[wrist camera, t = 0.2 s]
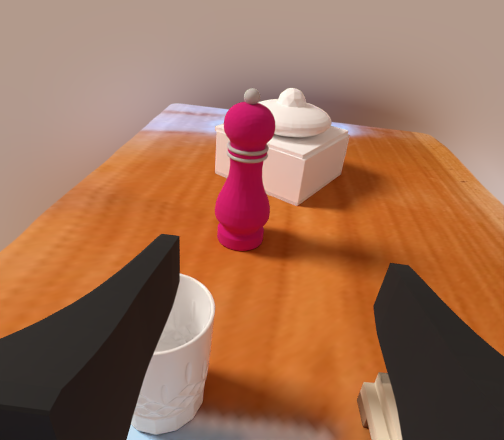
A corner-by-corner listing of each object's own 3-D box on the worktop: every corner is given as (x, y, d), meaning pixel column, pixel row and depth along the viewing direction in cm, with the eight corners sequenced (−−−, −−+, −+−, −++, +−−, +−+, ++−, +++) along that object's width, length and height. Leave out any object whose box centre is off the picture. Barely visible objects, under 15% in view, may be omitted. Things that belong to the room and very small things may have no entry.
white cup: (104, 374, 32) (88, 287, 27) (191, 344, 36) (191, 261, 31) (125, 462, 27) (109, 373, 21) (226, 416, 30) (233, 330, 25)
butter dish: (297, 207, 61) (313, 109, 53) (212, 173, 69) (215, 84, 61) (341, 175, 74) (360, 92, 65) (265, 149, 82) (273, 72, 74)
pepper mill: (254, 221, 56) (268, 81, 45) (274, 248, 50) (296, 96, 40) (207, 227, 53) (211, 81, 43) (223, 257, 48) (233, 97, 37)
